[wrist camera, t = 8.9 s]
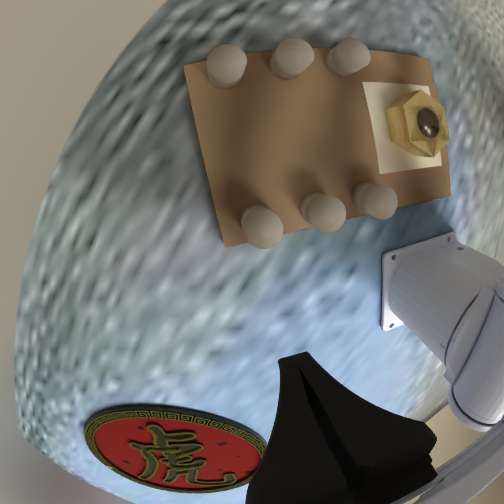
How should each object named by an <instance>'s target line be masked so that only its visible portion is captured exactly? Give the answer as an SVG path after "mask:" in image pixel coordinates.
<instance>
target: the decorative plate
mask: <svg viewBox="0 0 504 504" xmlns="http://www.w3.org/2000/svg"><path fill="white" fill-rule="evenodd" d="M84 435H85V440H86V443H87V445H88V447H89V449H90V451H91V452H92V453H93V454H94V456H95V457H96V458H97V459H98V460H100V462H102V463H103V464H104V465H105V466H107V467H108V468H109V469H111V470H113V471H114V472H116V473H117V474H120V475H121V476H123V477H125V478H127V479H129V480H132V481H134V482H137V483H139V484H142V485H145V486H148V487H152V488H156V489H160V490H166V491H171V492H179V493H212V492H213V493H214V492H221V491H226V490H230V489H234V488H238V487H241V486H243V485H246V484H248V483H249V482H250V480H251V478H252V476H253V474H254V473H255V471H256V469H257V467H258V465H259V463H260V461H261V459H262V456H263V454H264V452H265V449H266V447H267V442H266V441H265V440H264V438H263V437H262V436H260V435H259V434H258V433H256V432H255V431H253V430H252V429H250V428H248V427H246V426H244V425H242V424H240V423H238V422H235V421H233V420H230V419H227V418H224V417H221V416H217V415H214V414H210V413H206V412H201V411H196V410H191V409H185V408H179V407H171V406H161V405H124V406H117V407H112V408H108V409H105V410H102V411H100V412H98V413H96V414H95V415H93V416H92V417H91V418H90V419H89V421H88V422H87V425H86V428H85V432H84Z"/></svg>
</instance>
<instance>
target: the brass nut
mask: <svg viewBox="0 0 504 504" xmlns="http://www.w3.org/2000/svg"><path fill="white" fill-rule="evenodd" d="M384 110H385V115H386V120H387V125H388V130H389V135H390V141H391V143H393V144H395V145H396V146H398V147H400V148H401V149H403V150H405V151H406V152H408V153H410V154H411V155H413V156H417V157H431V158H434V157H435V156H436V155H437V153H438V152H439V151H440V150H441V149H442V148H443V147H444V145H445V144H446V143H447V142H448V141H449V140H450V139H449V132H448V126H447V120H446V115H445V110H444V107H443V106H442V105H441V104H439V103H438V102H437V101H436V100H434V99H433V98H432V97H431V96H429V95H428V94H427V93H425V92H424V91H423V90H417V91H412V92H408V93H404V94H402V95H401V96H399V97H398V98H397V99H396V100H395V101H394V102H392V103H391V104H390V105H389V106H388V107H387V108H385V109H384Z"/></svg>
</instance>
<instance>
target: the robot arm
mask: <svg viewBox="0 0 504 504" xmlns="http://www.w3.org/2000/svg"><path fill="white" fill-rule="evenodd" d="M447 239H448V240H447ZM393 255H394V257H393V259H392V256H393ZM382 268H383V291H382V321H381V329H382V330H383V331H388V330H391V329H393V328H395V327H398V326H400V325H403V324H405V325H406V326H407V327H408V328H409V329H410V330H411V331H412V332H413V333H414V334H415V335H416V336H417V337H418V338H419V339H420V340H421V341H422V342H423V343H424V344H425V345H426V346H427V347H428V348H429V349H430V350H431V351H432V352H433V353H434V354H435V355H436V356H437V357H438V358H439V359H440V360H441V361H442V362H443V363H444V364H445V365H446V371H445V373H444V377H445V378H446V379H447V381H448V382H449V383H450V384H451V385H450V387H449V390H448V402H449V405H450V408H451V410H452V412H453V413H454V415H455V416H456V417H457V419H458V420H459V421H460V422H461V423H463V424H464V425H465V426H467V427H469V428H471V429H473V430H476V431H481V432H486V433H485V434H483V435H482V436H481V437H480V438H478V439H477V440H476V441H475V442H474V443H472V444H471V445H470V446H468V447H467V448H466V449H464V450H463V451H462V452H460V453H459V454H457V455H456V456H455V457H453V458H452V459H450V460H449V461H447V462H446V463H444V464H443V465H441V466H440V467H438V468H436V469H434V467H433V466H432V465H431V462H432V459H431V457H430V455H429V453H430V452H431V450H432V449H433V447H434V445H435V444H436V441H437V437H436V436H435V434H434V433H433V432H432V430H431V429H430V428H429V427H428V426H427V425H426V424H425V423H424V422H421V421H417V420H413V419H409V418H406V417H403V416H400V415H397V414H394V413H391V412H389V411H387V410H385V409H382V408H380V407H378V406H376V405H374V404H372V403H370V402H368V401H366V400H364V399H363V398H361V397H359V396H358V395H356V394H355V393H353V392H352V391H350V390H349V389H347V388H346V387H345V386H343V385H342V384H341V383H339V382H338V381H337V380H336V379H335V378H333V377H332V376H331V375H330V374H329V373H328V372H327V371H325V370H324V369H323V368H322V367H321V366H320V365H319V364H318V363H317V362H316V361H315V359H314V358H313V357H312V356H311V355H310V354H309V353H308V352H303V353H299V354H296V355H292V356H288V357H285V358H281V359H279V360H278V364H279V369H280V392H279V401H278V407H277V413H276V418H275V422H274V426H273V429H272V433H271V436H270V439H269V442H268V444H267V447H266V449H265V452H264V454H263V456H262V459H261V461H260V463H259V465H258V467H257V469H256V471H255V473H254V474H253V476H252V478H251V480H250V482H249V486H248V490H247V495H246V504H403V503H405V502H407V501H409V500H411V499H413V498H414V497H416V496H418V495H420V494H422V493H423V492H425V491H427V490H428V489H430V488H431V489H430V490H428V491H427V492H425V493H424V494H422V495H421V496H420V498H419V499H418V500H417V501H416V502H415V503H413V504H465V503H467V502H468V501H469V500H470V499H472V498H473V497H474V496H476V495H477V494H478V493H479V492H481V491H482V490H483V489H484V488H485V487H486V486H487V485H489V484H490V483H491V482H492V481H493V480H494V479H495V478H497V477H498V476H499V475H500V474H501V473H502V472H503V471H504V267H503V266H502V265H501V264H500V263H499V262H498V261H496V260H495V259H493V258H491V257H489V256H487V255H485V254H482V253H480V252H478V251H476V250H474V249H472V248H470V247H468V246H466V245H463V244H461V243H459V242H458V233H457V232H455V231H453V232H450V233H447V234H444V235H441V236H438V237H434V238H431V239H428V240H425V241H422V242H419V243H416V244H412V245H409V246H406V247H403V248H399V249H396V250H393V251H390V252H387V253H385V254H384V255H383V258H382ZM391 323H392V324H391ZM390 324H391V325H390ZM433 486H434V487H433ZM432 487H433V488H432Z"/></svg>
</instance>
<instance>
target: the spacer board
mask: <svg viewBox="0 0 504 504" xmlns="http://www.w3.org/2000/svg"><path fill="white" fill-rule="evenodd" d="M183 67H184V72H185V77H186V82H187V87H188V92H189V96H190V101H191V106H192V110H193V115H194V120H195V124H196V129H197V133H198V138H199V142H200V146H201V151H202V155H203V159H204V164H205V168H206V172H207V177H208V181H209V185H210V189H211V193H212V197H213V202H214V206H215V210H216V214H217V218H218V222H219V226H220V230H221V234H222V238H223V242H224V246H225V248H227V247H231V246H235V245H239V244H243V243H247V242H249V243H250V244H251V245H253V246H255V247H257V248H261V249H266V248H270V247H272V246H274V245H275V244H277V243H278V242H279V240H280V239H281V237H282V234H285V233H289V232H294V231H298V230H302V229H306V228H311V227H315V228H317V229H318V230H320V231H321V232H324V233H332V232H335V231H337V230H338V229H340V228H341V227H342V225H343V224H344V222H345V219H350V218H354V217H358V216H363V215H367V214H368V215H371V216H373V217H375V218H378V219H381V220H386V219H389V218H390V217H391V216H393V214H394V213H395V211H396V209H397V208H398V207H403V206H407V205H412V204H416V203H421V202H425V201H430V200H434V199H439V198H444V197H448V196H451V193H450V175H449V163H448V154H447V145H446V144H445V145H444V147H443V148H442V149H441V150H440V151H439V152H438V153H437V155H436V156H435V157H434V158H431V157H417V156H413V155H411V154H410V153H408V152H406V151H405V150H403V149H401V148H400V147H398V146H396V145H395V144H393V143H391V141H390V135H389V130H388V125H387V120H386V115H385V110H384V109H385V108H387V107H388V106H389V105H390V104H391V103H392V102H394V101H395V100H396V99H397V98H398V97H399V96H401V95H402V94H404V93H408V92H412V91H417V90H423V91H424V92H425V93H427V94H428V95H429V96H431V97H432V98H433V99H434V100H436V101H437V102H438V103H439V99H438V95H437V90H436V86H435V82H434V78H433V75H432V71H431V68H430V64H429V61H428V58H423V57H418V56H413V55H407V54H400V53H393V52H385V51H375V50H368V48H367V47H366V46H365V45H364V44H363V43H362V42H361V41H359V40H357V39H354V38H346V39H344V40H343V41H342V42H340V43H339V44H338V45H337V46H336V47H334V48H312V47H311V46H310V45H309V44H308V43H307V42H306V41H304V40H302V39H300V38H296V37H290V38H286V39H284V40H282V41H281V42H280V43H279V45H278V47H277V48H276V50H271V51H261V52H253V53H246V54H245V53H244V51H243V50H242V49H240V48H239V47H237V46H234V45H230V44H225V45H220V46H217V47H215V48H214V49H213V50H212V51H211V52H210V53H209V55H208V57H207V60H206V61H201V62H197V63H192V64H188V65H184V66H183Z"/></svg>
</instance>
